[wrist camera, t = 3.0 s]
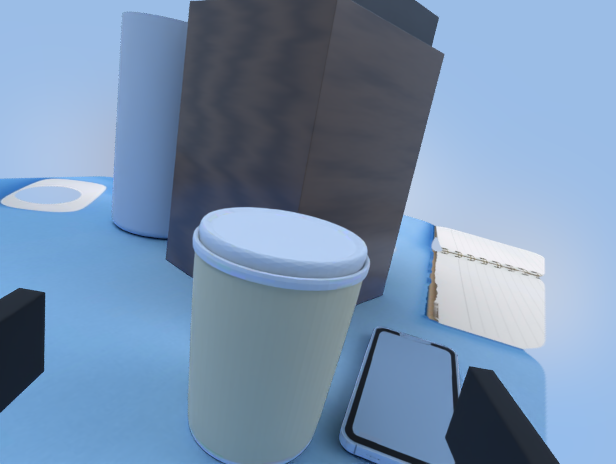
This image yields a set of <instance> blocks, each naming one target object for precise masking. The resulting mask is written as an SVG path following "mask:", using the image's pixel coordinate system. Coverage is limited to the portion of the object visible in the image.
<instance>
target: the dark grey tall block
mask: <svg viewBox="0 0 616 464" xmlns="http://www.w3.org/2000/svg"><path fill="white" fill-rule="evenodd" d="M443 58H444V54H443V53H442V52H440V51H438V50H436V49H435V48H433V47H431V46H430V45H428V44H426V43H424V42H423V41H421V40H419V39H417V38H416V37H414V36H412V35H410V34H409V33H407V32H405V31H404V30H402V29H400V28H398V27H397V26H395V25H393V24H391V23H390V22H388V21H386V20H385V19H383V18H381V17H379V16H378V15H376V14H374V13H372V12H371V11H369V10H367V9H365V8H364V7H362V6H360V5H359V4H357V3H355V2H353V1H352V0H203V1H190V7H189V19H188V28H187V39H186V50H185V60H184V71H183V82H182V92H181V103H180V113H179V124H178V135H177V145H176V156H175V167H174V177H173V188H172V199H171V209H170V220H169V231H168V241H167V252H166V260H168V261H169V262H171V263H172V264H174V265H175V266H177V267H178V268H179V269H181V270H182V271H184V272H185V273H187V274H188V275H189V276H191V277H192V278H193V270H194V257H195V251H194V248H193V234H194V231H195V229H196V228H197V227H198V226H199V225H200V223H201V220H202V219H203V217H204V216H206V215H207V214H208V213H210V212H213V211H216V210H220V209H226V208H236V207H254V208H267V209H277V210H283V211H289V212H295V213H299V214H304V215H308V216H312V217H315V218H319V219H322V220H325V221H328V222H331V223H334V224H336V225H339V226H341V227H343V228H345V229H347V230H349V231H351V232H353V233H354V234H356V235H357V236H359V237H360V238H361V239H362V240H363V241H364V242H365V244H366V246H367V255H368V257H369V259H370V267H369V271H368V274H367V276H366V277H365V279H363V281H362V285H361V288H360V292H359V296H358V299H357V303H356V305H357V304H360V303H363V302H365V301H368V300H370V299H373V298H376V297H378V296H381V295H383V291H384V287H385V283H386V279H387V275H388V271H389V268H390V264H391V260H392V256H393V252H394V248H395V244H396V240H397V236H398V233H399V229H400V225H401V221H402V217H403V213H404V209H405V205H406V202H407V198H408V193H409V189H410V186H411V181H412V178H413V174H414V170H415V167H416V162H417V159H418V154H419V151H420V147H421V143H422V139H423V135H424V131H425V128H426V124H427V120H428V116H429V112H430V108H431V104H432V100H433V96H434V93H435V89H436V85H437V81H438V77H439V73H440V69H441V65H442V62H443Z"/></svg>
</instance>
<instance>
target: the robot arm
mask: <svg viewBox="0 0 616 464" xmlns="http://www.w3.org/2000/svg"><path fill="white" fill-rule="evenodd" d="M44 336H45V292H40V291H34V290H28V289H23V288H18V289H16V290H15V291H13V292H11V293H10V294H8V295H6V296H4V297H3V298H1V299H0V413H1V412H2V411H3V410H4V409H5V408H6V407H7V406H8V405H9V404H10V403H11V402H12V401H13V400H14V399H15V398H16V397H17V396H18V395H19V394H21V393H22V392H23V391H24V390H25V389H26V388H27V387H28V386H29V385H30V384H31V383H32V382H33V381H34V380H35V379H36V378H37V377H38V376H39V375H40V374H42V373H43V372H44ZM445 439H446V442H447V444H448V447H449V449H450V451H451V454H452V456H453V459H454V461H455V463H456V464H559V462H558V461H557V459H556V458H555V457H554V455H553V454H552V452H551V451H550V449H549V448H548V447H547V445H546V444H545V442H544V441H543V440H542V438H541V437H540V435H539V434H538V433H537V431H536V430H535V429H534V427H533V426H532V424H531V423H530V422H529V420H528V419H527V417H526V416H525V415H524V413H523V412H522V410H521V409H520V408H519V406H518V405H517V403H516V402H515V401H514V399H513V398H512V396H511V395H510V394H509V392H508V391H507V389H506V388H505V387H504V385H503V384H502V382H501V381H500V380H499V378H498V377H497V375H496V374H495V373H494V371H493V370H488V369H482V368H476V367H470V366H469V369H468V372H467V375H466V377H465V380H464V383H463V386H462V389H461V392H460V395H459V398H458V401H457V404H456V406H455V409H454V412H453V415H452V418H451V421H450V424H449V427H448V430H447V433H446V435H445Z"/></svg>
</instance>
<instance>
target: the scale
mask: <svg viewBox="0 0 616 464" xmlns="http://www.w3.org/2000/svg"><path fill="white" fill-rule="evenodd" d="M352 1H353V2H355V3H357V4H359V5H360V6H362V7H364V8H365V9H367V10H369V11H371V12H372V13H374V14H376V15H378V16H379V17H381V18H383V19H385V20H386V21H388V22H390V23H391V24H393V25H395V26H397V27H398V28H400V29H402V30H404V31H405V32H407V33H409V34H410V35H412V36H414V37H416V38H417V39H419V40H421V41H423V42H424V43H426V44H428V45H430V46H431V47H432V43H433V39H434V35H435V31H436V27H437V23H438V19H439V18H438V16H436V15H435V14H433V13H432V12H431V11H429V10H428V9H426V8H425V7H424V6H422V5H421V4H420V3H418V2H417V1H415V0H352Z"/></svg>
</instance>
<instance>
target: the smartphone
mask: <svg viewBox="0 0 616 464" xmlns="http://www.w3.org/2000/svg"><path fill="white" fill-rule="evenodd" d="M460 392H461V390H460V378H459V367H458V355H457V353H456V352H455V351H454V350H453V349H451V348H449V347H447V346H444V345H441V344H438V343H434V342H431V341H428V340H425V339H421V338H418V337H415V336H412V335H408V334H405V333H402V332H399V331H395V330H392V329H389V328H386V327H376V328H374V330H373V333H372V336H371V339H370V342H369V345H368V346H367V349H366V353H365V355H364V358H363V363H362V366H361V369H360V372H359V375H358V378H357V381H356V384H355V387H354V390H353V393H352V396H351V399H350V402H349V405H348V408H347V411H346V414H345V417H344V420H343V423H342V426H341V430H340V434H339V440H340V443H341V445H342V446H343V447H344V448H345V449H346V450H347V451H348V452H350V453H352V454H355V455H357V456H360V457H362V458H365V459H367V460H370V461H372V462H375V463H377V464H456V463H455V461H454V459H453V456H452V454H451V451H450V449H449V447H448V444H447V442H446V439H445V435H446V433H447V430H448V427H449V424H450V421H451V418H452V415H453V412H454V409H455V406H456V404H457V401H458V398H459V395H460Z"/></svg>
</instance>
